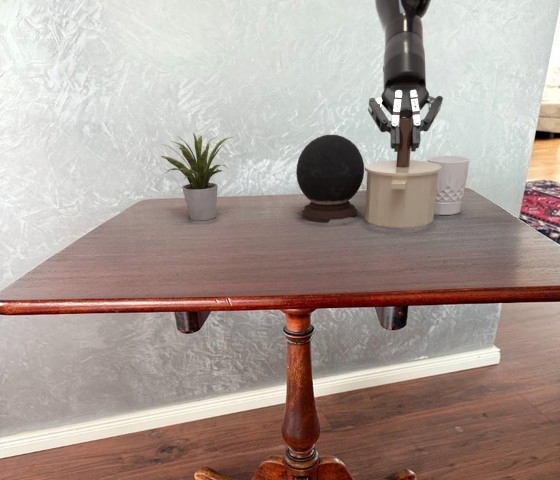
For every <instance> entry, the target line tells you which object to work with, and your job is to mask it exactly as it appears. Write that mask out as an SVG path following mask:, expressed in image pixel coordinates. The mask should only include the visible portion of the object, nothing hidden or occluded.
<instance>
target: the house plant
mask: <svg viewBox="0 0 560 480" xmlns="http://www.w3.org/2000/svg"><path fill="white" fill-rule="evenodd" d="M192 134H193V135H192V136H193V139H194V150H195V151H194V152H195V154H194V152H193V150H192V148H191V146H190V145H189V144H188V143H187V142H186V141H185V140H184V139H183V138H181V137H180V136H178V138H179V139H180V140H181V141H182V142H184V144H185V145H184V144H182V143H181V142H177V141H174V140H170V142H171V143H175V144H176V147H177V148H178V149H179V150H181V154H180V153H179V152H177V151H176V150H175V149H174V148H173V147H171V146H169V145H166V144H161V145H162V146H163V145H164V146H166V147H168V148H170V149H171V150H173V151H174V152H175V153H177V155H179V157H181V159H182V160H183V161H184V162H185V164H186V165H187V166H188V167H187V166H186V165H185V164H184V163H182V162H180V161H179V160H177V159H175V158H172V157H170V156H166V155H160V157H161V158H162V159H164V160H166V161H167V162H168V163H170V164H171V165H172V166H174V168H170V169H168V170H167V171H166V173H168V172H170V171H171V172H173V171H179V172H180V173H181V174H182V175H183V176H184V179H187V182H188V183H189V184H188V183H187V184H184V185H183V186H182V188H181V189H182V193H183V197H184V200H185V203H186V207H187V211H188V214H189V218H190V220H191V221H197V222H199V221H200V222H201V221H210V220H213V219H216V216H217V203H218V184H217V183H215V182H210V180H211V178H212V177H213V176H214V175H216V174H218V173H221V172H225V173H226V171H225V170H222V169H219V167H222V166H223V167H226V165H225V164H214V165H213V166H212V167H211V164H212V163H213V160H214V158H215V157H216V155H218V153H219V152H220V149H221V148H222V147H223V144H224V142H226V141H227V140H230V139H232V138H233V136H230V137H229V136H228V137H225V138H223V139H221V140H220V141H218V142H217V143H216V144H215V146H214V147H213V149H212V150H211V153H210V154H209V150H210V145H211V143H210V142H211V141H212V140H214V139H217V138H218V136H216V137H212V138H211V139H210V140H209V141H208V142H207V143H206V146H205V149H204V150H203V149H202V148H203V136H202V135H200V136H198V138H197V136H196V134H195V132H192ZM177 145H178V146H177ZM186 146H187V147H186ZM202 150H203V151H202ZM185 159H186V160H185Z"/></svg>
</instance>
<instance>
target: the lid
mask: <svg viewBox="0 0 560 480" xmlns="http://www.w3.org/2000/svg"><path fill="white" fill-rule="evenodd" d="M398 127H399V132H400V145H399V151H398V152H396V160H395V159H393V160H382V161H381V160H380V161H376V162H370V163H368V164H366V165H364V172H366V173H367V172H369V173H372V174H377V175H385V176H421V175H429V174H434V173H437V172H439V171H440V170H441V166H440V165H439V164H436V163H432V162H427V161H425V160H415V159H414V160H411V153H412V152H411V140H412V128H413V118H406V117H403V118H399V123H398Z"/></svg>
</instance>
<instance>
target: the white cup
mask: <svg viewBox="0 0 560 480" xmlns="http://www.w3.org/2000/svg"><path fill="white" fill-rule="evenodd" d="M426 162H432V163H436V164H439V165H440V166H441V170H440V171H439V172H438V178H437V187H436V196H435V206H434V215H436V216H452V215H457V214H459V213H461V210H462V209H461V208H462V202H463V199H464V195H465V190H466V185H467V180H468V174H469V170H470V169H469V168H470V167H469V166H470V163H471V158H470V157H468V156H462V155H433V156H430V157H428V158H427V161H426Z"/></svg>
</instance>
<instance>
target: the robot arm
mask: <svg viewBox="0 0 560 480" xmlns="http://www.w3.org/2000/svg"><path fill="white" fill-rule="evenodd" d="M431 1H432V0H374V5H375V12H376V14H377V18H378V20H379V24H380V26H381V29H382V32H383V34H384V52H383V61H382V62H383V64H382V73H383V76H382V77H383V91H382V92H381V95H380V97H378V98H375V97H370V98H369V99H368V106H367V111H368V113H369V115H370V117H371V118H372V120H373V121H374V123H375V125H376V126H377V128H378V130H379V131H380V132H381V133H386V132H387V133H388V134H389V135H390V140H389V141H390V145H389V146H390V148H391V150H393V152H394V153H397V152H398V151H399V145H400V132H399V119H400V118H413V128H412V140H411V153H412V152H413V153H415V152H416V151H417V149H419V148H420V144H421V139H422V138H421V132H424V133H426V132H428V131H429V130H430V129H431V126H432V125H433V123H434V121H435V119H436V117H437V115H438V114H439V113H440V111H441V108H442V105H443V100H444V98H443V96H441V95H437V96H436V97H434V96H431V95H430V92H429V91H428V89H427V77H426V53H425V46H424V29H423V28H424V26H423V21H422V18H424V16H425V15H426V14H427V11H428V10H429V7H430V5H431ZM426 105H427V110H428V111H427V113H426V115H425V116H424V118H423V119H421V114H420V113H421V111H422V109H423V108H424V107H425V106H426ZM383 108H385V109H386V111H387V112H388V113H389V114H390V115H391V120H389V119H388V117H387V116H386V114H385V112H384V111H383Z"/></svg>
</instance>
